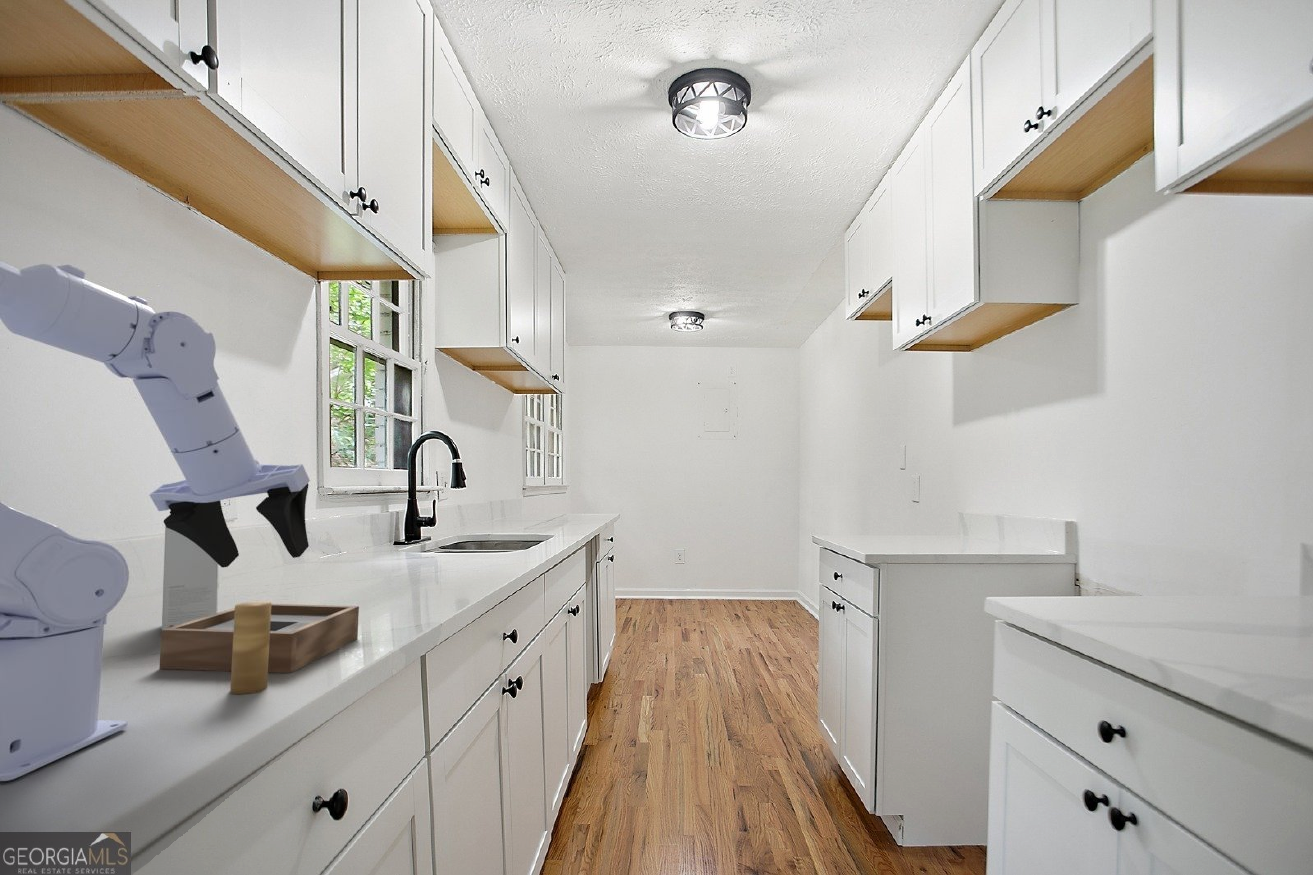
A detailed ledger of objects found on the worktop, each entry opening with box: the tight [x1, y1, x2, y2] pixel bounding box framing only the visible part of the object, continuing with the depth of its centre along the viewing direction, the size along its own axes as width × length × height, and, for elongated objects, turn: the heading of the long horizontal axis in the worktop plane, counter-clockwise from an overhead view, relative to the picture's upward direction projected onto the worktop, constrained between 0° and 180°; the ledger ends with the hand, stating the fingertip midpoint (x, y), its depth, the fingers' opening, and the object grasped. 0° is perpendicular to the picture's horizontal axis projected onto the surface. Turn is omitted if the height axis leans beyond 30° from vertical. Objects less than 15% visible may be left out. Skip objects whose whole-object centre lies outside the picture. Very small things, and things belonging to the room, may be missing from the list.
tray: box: [158, 603, 360, 674], centre depth 75 cm, size 14×14×4 cm
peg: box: [229, 601, 272, 695], centre depth 62 cm, size 3×3×8 cm
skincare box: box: [161, 526, 220, 631], centre depth 85 cm, size 8×6×15 cm
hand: (265, 556), depth 66 cm, fingers open, 7 cm apart
